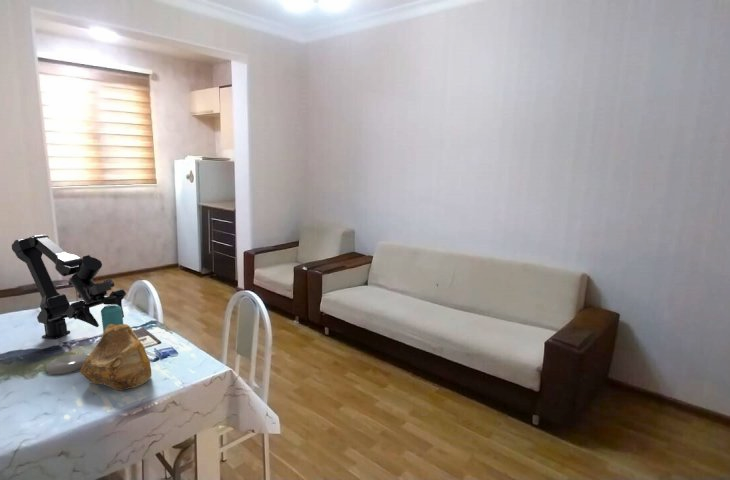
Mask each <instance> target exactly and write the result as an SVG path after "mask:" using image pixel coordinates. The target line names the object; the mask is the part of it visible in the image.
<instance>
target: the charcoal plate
mask: <svg viewBox="0 0 730 480" xmlns="http://www.w3.org/2000/svg"><path fill="white" fill-rule="evenodd" d="M89 355H90V354H85V353H78V354H77V353H75V354H70V355H64V356H62V357H59V358H56V359H54V360H52V361H51V362H49V363H48V364H47V365H46V366H45V369H46V374H48V375H51V376H64V375H70V374H74V373H77V372H80V370H81V368H82V365H83V364H84V362H85V360H86V358H87V357H88V356H89Z"/></svg>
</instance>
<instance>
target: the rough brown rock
mask: <svg viewBox="0 0 730 480" xmlns="http://www.w3.org/2000/svg"><path fill="white" fill-rule="evenodd" d="M133 330H134V329H132V327H131V326H130V325H129V324H126V323H124V324H120V325H114V324H110V325H108V326H107V327H106V329H105V331H104V333H102V336H101V338H100V340H99V341H98V343H97V344H96V346H95V347H94V349H93V351H91V352H90V354H88V355H89V356H88V357H87V358H86V360H85V362H84V364H83V365H82V368H81V370H79V374H80V375H81V376H83V377H84V378H85V379H87V380H88V381H89V383H93V384H95V385H97V384H98V385H105V386H106V387H109V388H112V389H115V390H116V391H117V390H118V391H124V392H125V391H126V390H127V389H134V388H136V387H138V386H141V385H143V384H145V383H146V382H147V381H149V380H150V378H151V377H152V366H151V362H150V358H149V357H148V354H147V351H146V349H145V348H144V346H143V344H142V343H141V342H140V341H139V339H138V337H137V336H136V334H135V333H134V332H133Z"/></svg>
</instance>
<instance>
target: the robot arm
mask: <svg viewBox="0 0 730 480" xmlns="http://www.w3.org/2000/svg"><path fill="white" fill-rule="evenodd" d="M11 250H12V251H13V253H14V254H15V257H17V259H19V260H20V261H22V262H23V263H25V264H26V266H27V269H28V270H29V272H30V275H31V278H32V279H33V281H34V283H35V285H36V288H37V290H38V292H39V295H40V297H41V301H40V304H39V308H40V311H39V313H38V315H37V316H36V319H37V322H38V323H39V324H42V325H43V326H44V332H45V334H43V335H42V336H41V338H46V339H53V340H55V339H59V338H61V337H63V336H65V335H67V334H70V333H71V330H68V326H67V322H66V318H68V319H69V320H71V319H73V320H79V321H82V322H84V323H87V324H89V325H91V326H93V327H95V328H99V326H100V324H99V323H98V320H97V319H96V318H95V317H94V315H93V314H92V313H91V310H90V309H91V308H94V307H96V306H100V305H104V304H103V298H104V297H106V295H107V294H108V292H109V291H111V292H110V294H109V295H108V296H116V297H117V303H114V304H116V305H119V306H120V307H121V308H122V316H123V318H124V317H125V313H124V310H123V309H124V308H123V304H122V303H123V299H124V298H125V296H127V292H126V291H125V290H124V289H123V288H119V289H115V290H112V288H114V287H115V286H116V284H115V282H114V281H113V279H111V278H107V279H104V280H103V282H99V283H98V282H95V281H94V280H93V279H94V278H96V277H97V275H98V273H99V271H100V269H101V268H102V266H103V263H102V261H101V260H100V259H98V258H96V257H93V256H91V255H89V254H88V255H87V254H86V255H83V256H82V258H81V257H79V256H78V255H76V254H72V253H67V251H64V249H62V248H61V247H60V246H59V245H57V244H56V243H55V242H54V241H53V240H51V239H50V237H49V235H47V234H44V233H43V234H37V235H32V236H29V237H28V238H27V237H26V238H19V239H15V240H14V242H12V244H11ZM43 255H44V256H45V257H47V258H48V259H49V260H51V262H53V264H55V265H54V268H55V270H56V271H57V272H58V274H59V275H61V277H67V276H71V277H69V278H68V280H69V281H68V287H71V286H73V287H74V289H75V290H76V292H77V293H78V295H77V297H78V299H82V300H78V301H75V302H71V303H70V302H69V300H68V298H67V296H66V294H64V293H63V294H60V292H58V291H57V290H56V286H55V285H54V282H53V281H52V278H51V275H50V273H49V271H48V268H47V267H46V264H45V263H44V260H43V258H42V256H43ZM110 305H113V304H110Z"/></svg>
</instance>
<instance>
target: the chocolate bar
mask: <svg viewBox="0 0 730 480" xmlns="http://www.w3.org/2000/svg"><path fill="white" fill-rule="evenodd" d="M132 330H133V332H134V333H135V334H136V336H137V337H138V339H139V341H140V342H141V343H142V344H143V346H144V348H149V347H153V346H156V345H159V344H162V341H161V340H160V339H158V338H157V337H156V336H155V335H153V334H152V333H151V332H150V331H149V330H147V329H146V328H145V327H141V328H138V329H132Z"/></svg>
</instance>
